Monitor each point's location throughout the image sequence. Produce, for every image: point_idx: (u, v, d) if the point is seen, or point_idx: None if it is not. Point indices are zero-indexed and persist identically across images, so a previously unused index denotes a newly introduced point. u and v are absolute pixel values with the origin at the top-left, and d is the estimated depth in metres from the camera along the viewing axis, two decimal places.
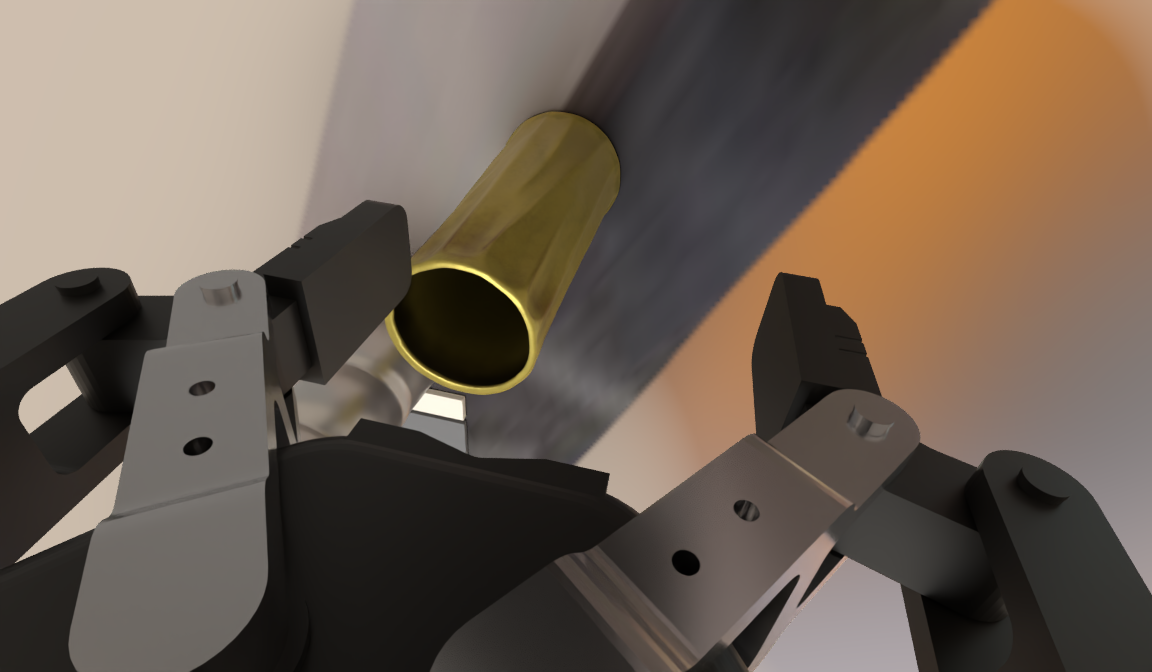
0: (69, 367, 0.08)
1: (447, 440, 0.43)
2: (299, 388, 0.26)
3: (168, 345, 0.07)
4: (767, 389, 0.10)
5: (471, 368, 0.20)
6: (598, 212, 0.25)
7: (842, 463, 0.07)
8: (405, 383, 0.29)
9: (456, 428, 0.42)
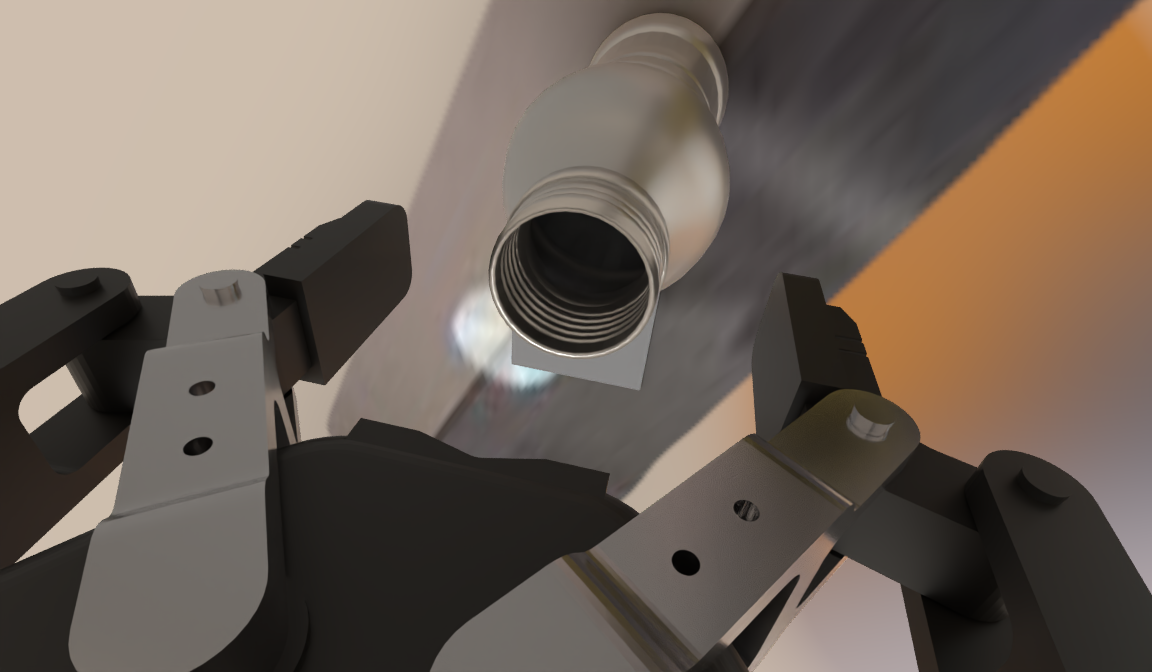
0: (69, 367, 0.08)
1: None
2: None
3: (168, 345, 0.07)
4: (767, 389, 0.10)
5: None
6: None
7: (843, 463, 0.07)
8: (710, 110, 0.20)
9: None
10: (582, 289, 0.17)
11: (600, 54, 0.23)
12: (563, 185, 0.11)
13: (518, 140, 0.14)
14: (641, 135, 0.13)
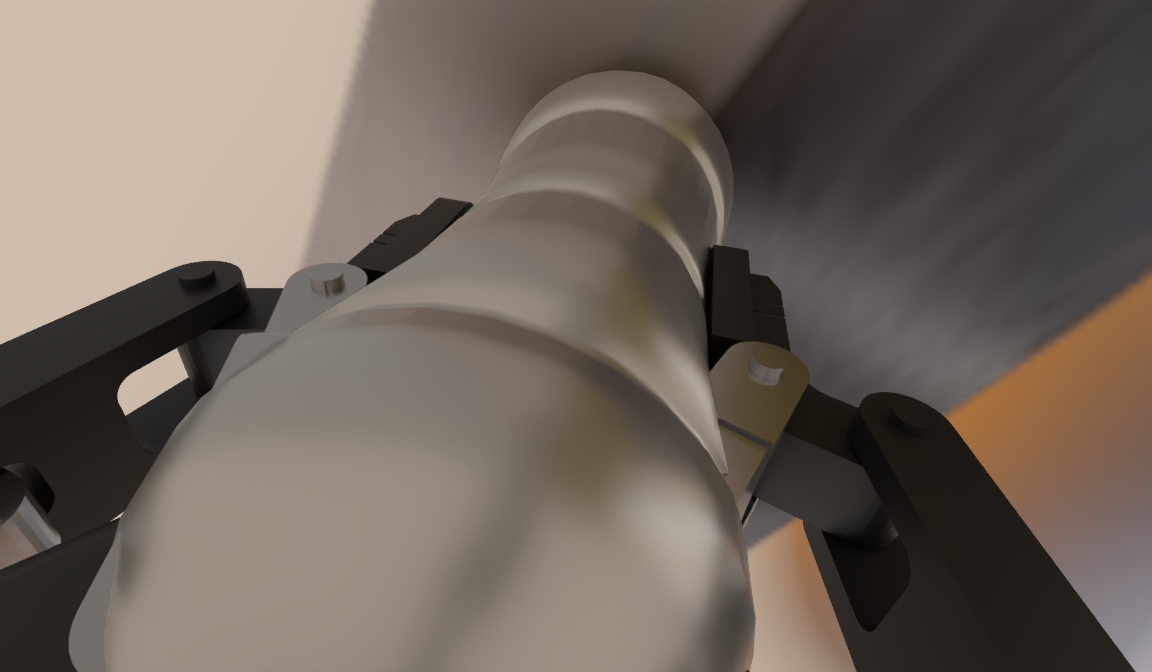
0: (184, 355, 0.09)
1: None
2: (456, 239, 0.07)
3: (267, 329, 0.08)
4: None
5: None
6: None
7: (752, 409, 0.07)
8: (702, 277, 0.10)
9: None
10: None
11: (514, 143, 0.14)
12: None
13: None
14: None
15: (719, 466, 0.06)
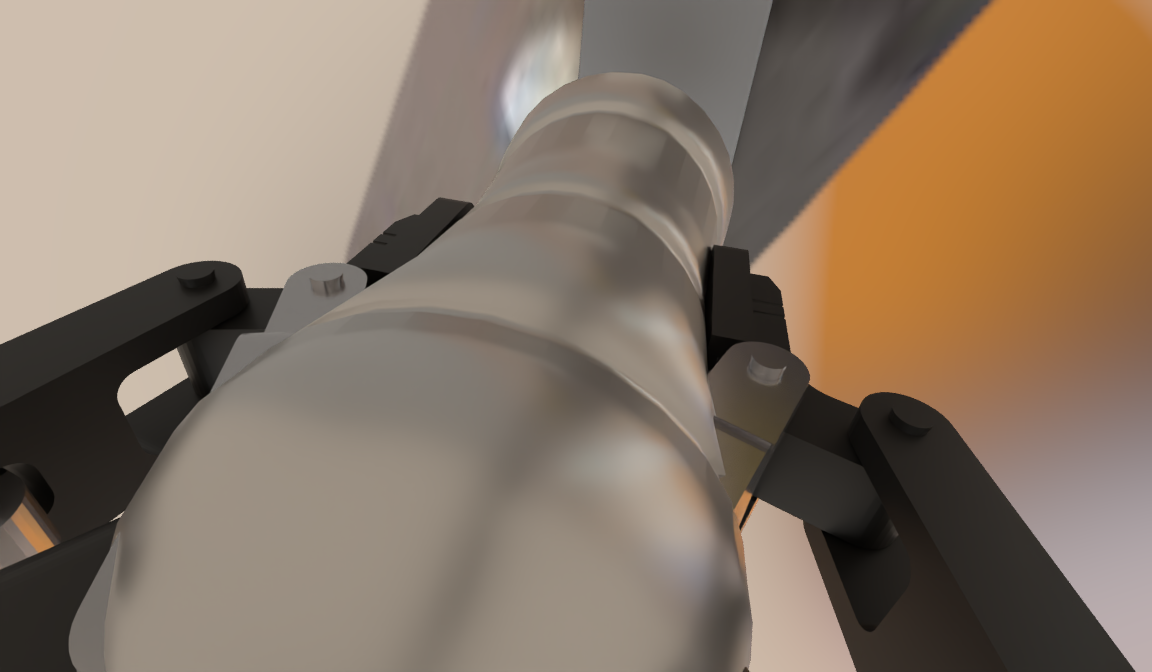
0: (183, 355, 0.09)
1: (735, 27, 0.28)
2: (455, 242, 0.07)
3: (267, 329, 0.08)
4: None
5: None
6: None
7: (752, 409, 0.07)
8: (701, 279, 0.10)
9: None
10: None
11: (514, 145, 0.14)
12: None
13: None
14: None
15: (717, 470, 0.06)
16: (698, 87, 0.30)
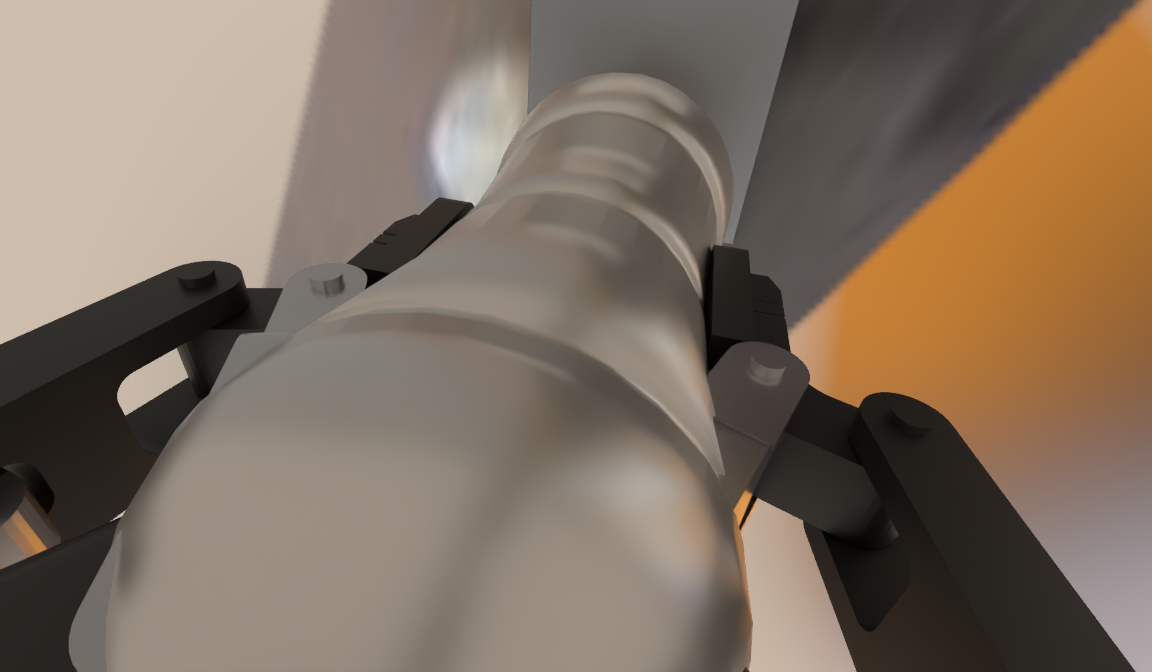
0: (184, 356, 0.09)
1: (739, 61, 0.20)
2: (454, 243, 0.07)
3: (267, 329, 0.08)
4: None
5: None
6: None
7: (751, 409, 0.07)
8: (701, 279, 0.10)
9: (775, 13, 0.19)
10: None
11: (513, 145, 0.14)
12: None
13: None
14: None
15: (717, 471, 0.06)
16: None
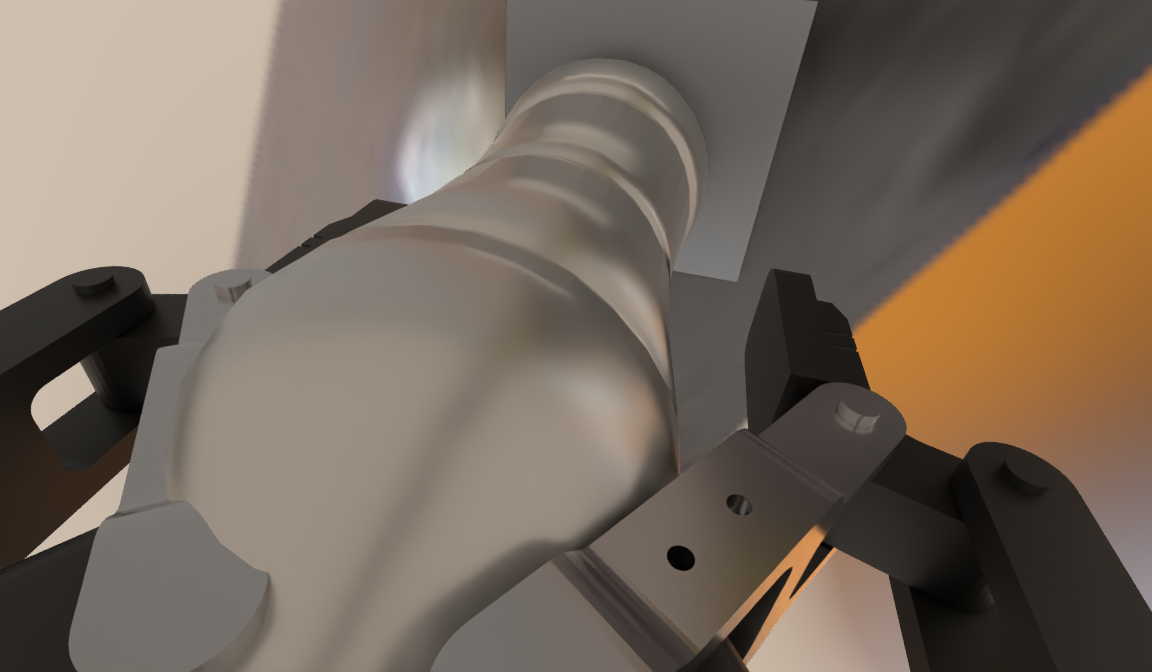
0: (84, 365, 0.09)
1: (745, 79, 0.17)
2: (451, 188, 0.09)
3: (181, 342, 0.07)
4: (759, 384, 0.10)
5: None
6: None
7: (831, 455, 0.07)
8: (668, 240, 0.12)
9: (788, 24, 0.16)
10: None
11: (507, 121, 0.15)
12: None
13: None
14: (405, 506, 0.04)
15: (660, 369, 0.07)
16: None
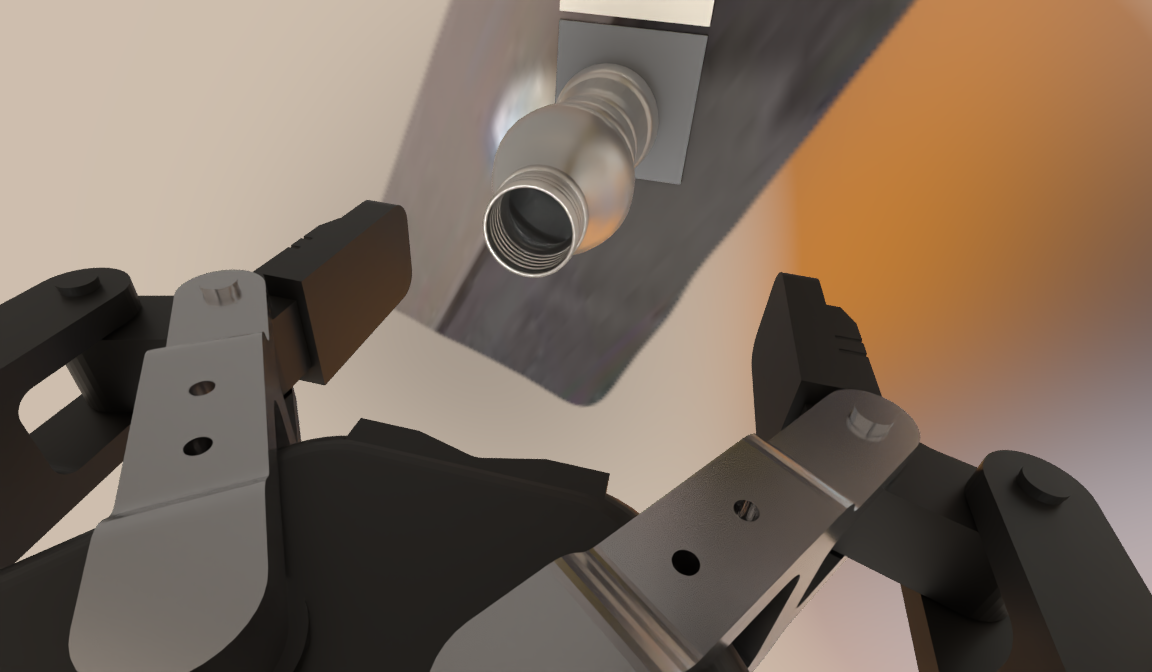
0: (69, 367, 0.08)
1: (676, 73, 0.35)
2: None
3: (168, 345, 0.07)
4: (767, 389, 0.10)
5: None
6: None
7: (843, 464, 0.07)
8: (635, 133, 0.29)
9: (694, 46, 0.34)
10: None
11: (564, 91, 0.33)
12: (525, 174, 0.20)
13: (502, 150, 0.24)
14: (573, 148, 0.22)
15: (628, 148, 0.25)
16: None
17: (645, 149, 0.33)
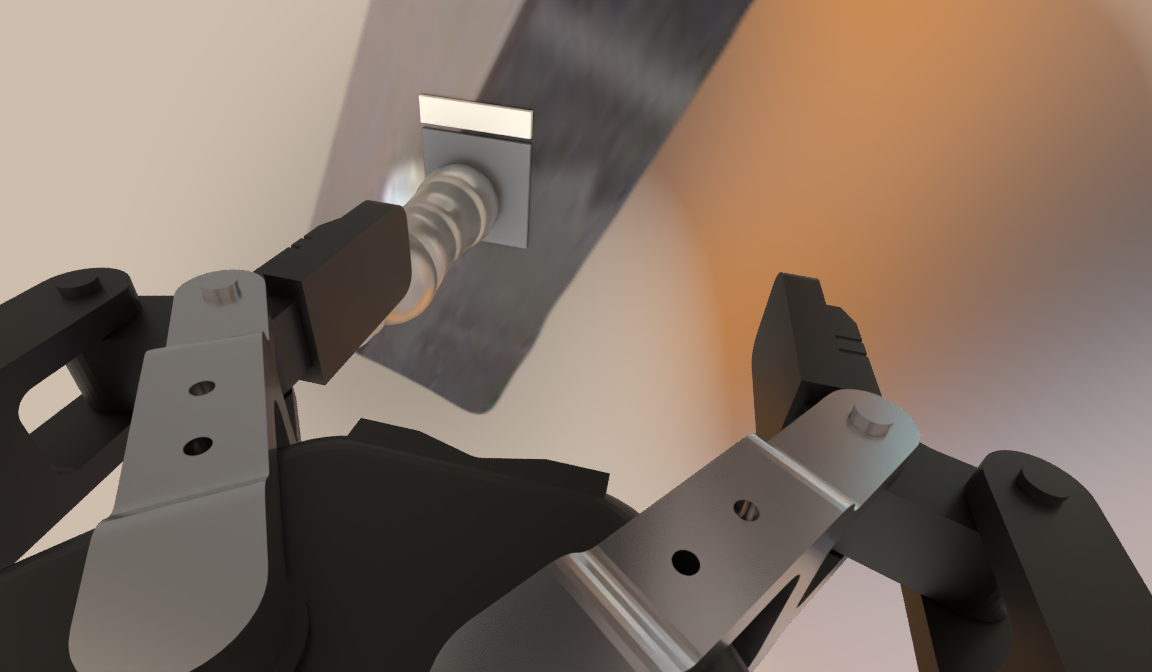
0: (69, 367, 0.08)
1: (512, 169, 0.46)
2: None
3: (168, 345, 0.07)
4: (767, 389, 0.10)
5: None
6: None
7: (842, 463, 0.07)
8: (458, 228, 0.40)
9: (522, 151, 0.45)
10: None
11: (418, 189, 0.43)
12: None
13: None
14: None
15: (430, 253, 0.36)
16: None
17: (481, 231, 0.44)
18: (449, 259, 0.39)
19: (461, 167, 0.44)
